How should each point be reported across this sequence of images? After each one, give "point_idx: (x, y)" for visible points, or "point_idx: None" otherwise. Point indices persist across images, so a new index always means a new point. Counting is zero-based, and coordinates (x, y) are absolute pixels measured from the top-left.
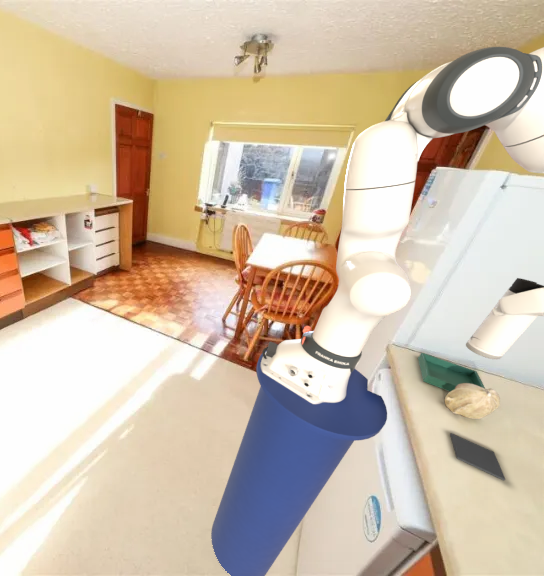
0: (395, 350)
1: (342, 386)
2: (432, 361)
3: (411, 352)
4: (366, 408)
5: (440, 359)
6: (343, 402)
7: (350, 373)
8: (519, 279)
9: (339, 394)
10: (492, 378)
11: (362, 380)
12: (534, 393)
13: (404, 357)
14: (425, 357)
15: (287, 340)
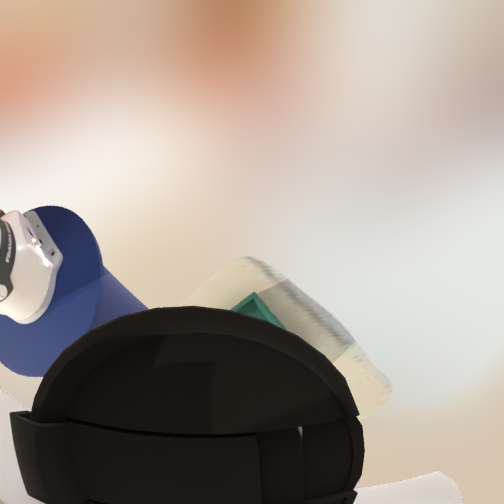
0: (226, 266)
1: (8, 311)
2: (264, 314)
3: (258, 279)
4: (42, 347)
5: (272, 319)
6: (25, 327)
7: (3, 302)
8: (61, 353)
9: (14, 317)
10: (349, 370)
11: (85, 306)
12: (378, 406)
13: (222, 287)
14: (256, 303)
15: (7, 213)
